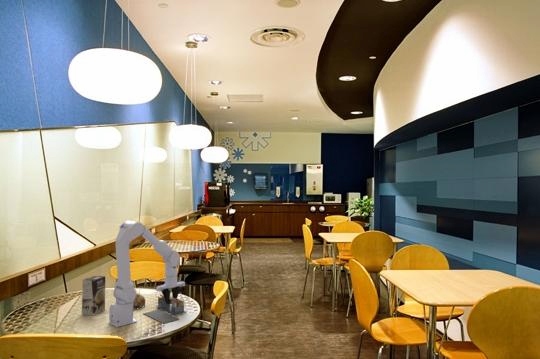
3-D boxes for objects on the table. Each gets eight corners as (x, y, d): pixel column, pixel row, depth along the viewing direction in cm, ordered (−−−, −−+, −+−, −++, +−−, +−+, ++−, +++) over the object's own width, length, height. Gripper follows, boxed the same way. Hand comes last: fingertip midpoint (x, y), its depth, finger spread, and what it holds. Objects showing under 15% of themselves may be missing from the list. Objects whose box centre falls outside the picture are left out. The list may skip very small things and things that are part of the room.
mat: (163, 324, 174) (163, 323, 174) (143, 314, 187) (143, 313, 187) (179, 319, 180) (179, 318, 180) (158, 310, 192) (158, 309, 192)
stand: (175, 315, 185) (175, 303, 185) (156, 307, 197) (156, 296, 197) (186, 312, 189) (186, 301, 190) (166, 304, 201) (166, 293, 201)
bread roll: (146, 312, 201) (149, 295, 205) (139, 309, 192) (142, 292, 195) (127, 311, 202) (131, 295, 206) (119, 308, 193) (122, 291, 196)
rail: (177, 306, 187) (178, 301, 187) (159, 299, 198) (159, 294, 198) (182, 305, 189) (182, 300, 189) (164, 298, 200) (164, 293, 200)
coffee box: (93, 315, 184) (94, 280, 184) (81, 314, 185) (81, 279, 186) (105, 309, 193) (106, 275, 193) (93, 308, 194) (94, 275, 195)
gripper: (179, 271, 201) (179, 298, 201) (153, 276, 191) (152, 304, 191) (187, 273, 196) (187, 301, 196) (161, 278, 186) (160, 308, 186)
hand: (170, 303), depth 193 cm, fingers open, 3 cm apart
